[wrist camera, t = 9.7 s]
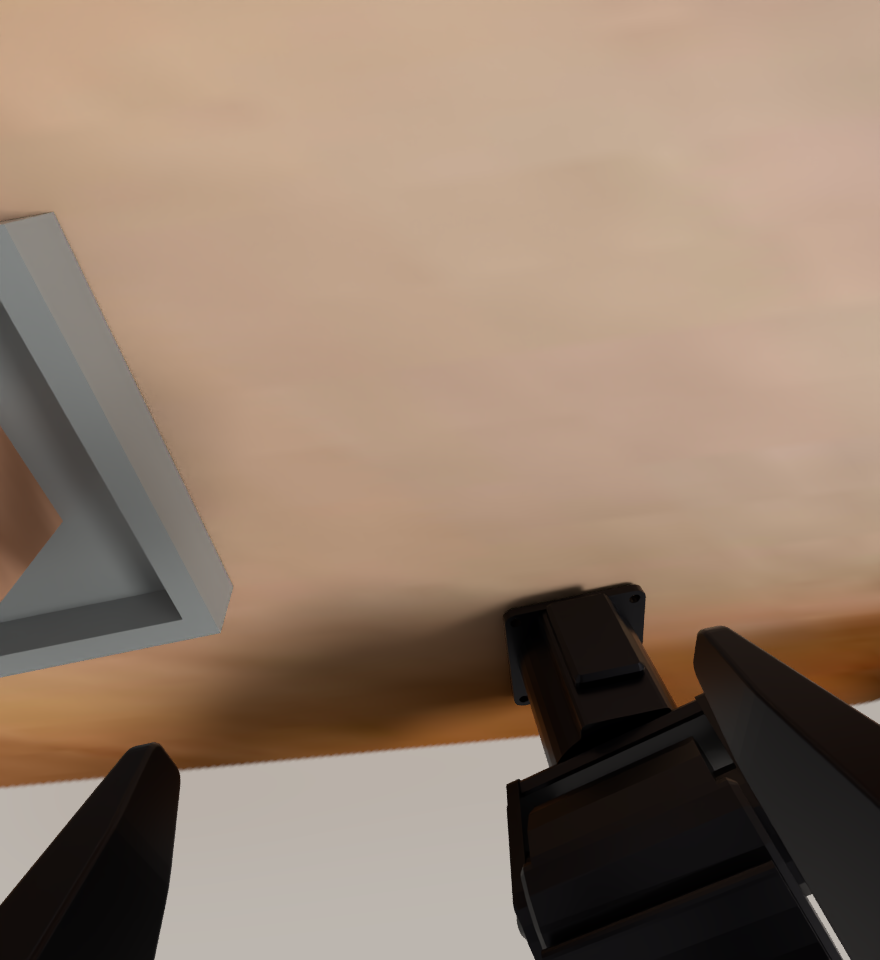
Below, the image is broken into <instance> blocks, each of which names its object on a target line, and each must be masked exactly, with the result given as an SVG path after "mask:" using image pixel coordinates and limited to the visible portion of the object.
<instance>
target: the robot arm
mask: <svg viewBox="0 0 880 960" xmlns="http://www.w3.org/2000/svg"><path fill="white" fill-rule="evenodd" d="M633 595H634V596H633ZM631 596H632V597H631ZM645 598H646V596H645V593H644V591H643V590H642V588H641V587H640V586H639V585H628V586H623V587H618V588H613V589H608V590H603V591H598V592H593V593H589V594H584V595H579V596H574V597H569V598H564V599H559V600H554V601H549V602H544V603H539V604H535V605H530V606H525V607H520V608H515V609H511V610H509V611H507V612H506V613H505V614H504V616H503V623H504V631H505V639H506V646H507V654H508V662H509V670H510V678H511V685H512V693H513V697H514V701H515V703H516V704H517V705H528V704H530V705H531V709H532V712H533V715H534V718H535V722H536V725H537V728H538V732H539V735H540V738H541V741H542V745H543V748H544V751H545V754H546V758H547V761H548V764H549V768H547V769H545V770H543V771H541V772H538V773H536V774H534V775H532V776H530V777H528V778H526V779H523V780H520V779H517V780H515V781H513V782H511V783H509V784H507V786H506V788H507V803H508V806H507V819H508V834H509V847H510V848H509V849H510V865H511V879H512V893H513V894H512V895H513V906H514V910H515V913H516V915H517V924H518V928H519V931H520V933H521V935H522V936H523V937H524V938H525V939H526V940H527V942H528V945H529V947H530V949H531V951H532V954H533V956H534V958H535V960H843V958H842V957H841V955H840V953H839V951H838V950H837V948H836V946H835V944H834V942H833V941H832V939H831V937H830V935H829V934H828V932H827V930H826V928H825V927H824V925H823V923H822V922H821V920H820V918H819V917H818V915H817V913H816V912H815V910H814V908H813V907H812V905H811V903H810V902H809V900H808V898H807V896H808V895H811V894H813V896H814V897H815V899H816V901H817V902H818V904H819V906H820V908H821V909H822V911H823V913H824V915H825V916H826V918H827V920H828V921H829V923H830V925H831V927H832V928H833V930H834V932H835V933H836V935H837V937H838V939H839V940H840V942H841V944H842V945H843V947H844V949H845V951H846V952H847V954H848V956H849V957H850V959H851V960H880V724H878V723H876V722H875V721H873V720H871V719H870V718H869V717H867V716H866V715H864V714H862V713H861V712H859V711H858V710H856V709H855V708H853V707H851V706H850V705H848V704H847V703H845V702H844V701H842V700H841V699H839V698H837V697H836V696H834V695H833V694H831V693H830V692H828V691H826V690H825V689H823V688H822V687H820V686H819V685H817V684H816V683H814V682H812V681H811V680H809V679H808V678H806V677H805V676H803V675H801V674H800V673H798V672H797V671H795V670H794V669H792V668H791V667H789V666H787V665H786V664H784V663H783V662H781V661H780V660H778V659H776V658H775V657H773V656H772V655H770V654H769V653H767V652H766V651H764V650H762V649H761V648H759V647H758V646H756V645H755V644H753V643H751V642H750V641H748V640H747V639H745V638H744V637H742V636H741V635H739V634H737V633H736V632H734V631H733V630H731V629H730V628H728V627H725V626H715V627H710V628H705V629H702V630H700V631H699V632H698V634H697V640H696V646H695V653H694V661H693V664H694V670H695V673H696V676H697V678H698V680H699V683H700V685H701V687H702V689H703V691H704V693H702V694H700V695H698V696H696V697H695V699H696V700H693V701H691V702H689V703H687V704H685V705H683V706H681V707H678V708H677V706H676V704H675V702H674V700H673V699H672V697H671V695H670V693H669V692H668V690H667V688H666V686H665V684H664V683H663V681H662V679H661V677H660V675H659V674H658V672H657V670H656V668H655V667H654V665H653V663H652V661H651V659H650V658H649V656H648V654H647V652H646V650H645V649H644V647H643V645H642V643H643V628H644V613H645ZM515 619H517V620H515ZM512 620H515V621H512ZM179 791H180V773H179V770H178V768H177V766H176V765H175V764H174V762H173V761H172V760H171V758H170V757H169V755H168V754H167V753H166V751H165V750H164V749H163V747H162V746H161V745H160V744H158V743H156V742H153V743H148V744H143V745H138V746H135V747H132V748H130V749H129V750H128V751H127V752H126V753H125V754H124V755H123V756H122V758H121V759H120V760H119V761H118V762H117V764H116V765H115V766H114V767H113V768H112V770H111V771H110V772H109V773H108V775H107V776H106V777H105V778H104V779H103V781H102V782H101V783H100V784H99V786H98V787H97V788H96V789H95V790H94V792H93V793H92V794H91V796H90V797H89V798H88V799H87V800H86V801H85V803H84V804H83V805H82V806H81V807H80V809H79V810H78V811H77V812H76V814H75V815H74V816H73V817H72V818H71V820H70V821H69V822H68V823H67V825H66V826H65V827H64V828H63V829H62V831H61V832H60V833H59V834H58V835H57V837H56V838H55V839H54V841H53V842H52V843H51V844H50V845H49V847H48V848H47V849H46V850H45V851H44V853H43V854H42V855H41V856H40V857H39V859H38V860H37V861H36V862H35V863H34V865H33V866H32V867H31V868H30V870H29V871H28V872H27V873H26V875H25V876H24V877H23V878H22V879H21V881H20V882H19V883H18V884H17V886H16V887H15V888H14V889H13V890H12V892H11V893H10V894H9V895H8V896H7V898H6V899H5V900H4V901H3V902H2V904H1V905H0V960H154V958H155V953H156V949H157V944H158V939H159V934H160V929H161V924H162V919H163V915H164V910H165V905H166V900H167V894H168V889H169V882H170V874H171V867H172V858H173V848H174V839H175V830H176V820H177V811H178V801H179Z"/></svg>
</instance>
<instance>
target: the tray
mask: <svg viewBox="0 0 880 960" xmlns="http://www.w3.org/2000/svg"><path fill="white" fill-rule="evenodd" d="M0 426H1V428H2V429H3V431H4V432H5V434H6V435H7V437H8V438H9V440H10V441H11V443H12V444H13V446H14V447H15V449H16V450H17V452H18V453H19V455H20V456H21V458H22V460H23V461H24V463H25V464H26V466H27V467H28V469H29V470H30V472H31V473H32V475H33V476H34V478H35V479H36V481H37V482H38V484H39V485H40V487H41V488H42V490H43V491H44V493H45V495H46V496H47V498H48V499H49V501H50V502H51V504H52V505H53V507H54V508H55V510H56V511H57V513H58V514H59V516H60V517H61V519H62V520H63V522H62V523H61V525H60V526H59V527H58V528H57V530H56V531H55V532H54V534H53V535H52V536H51V538H50V539H49V540H48V541H47V543H46V544H45V545H44V547H43V548H42V549H41V550H40V552H39V553H38V554H37V556H36V557H35V558H34V560H33V561H32V562H31V563H30V565H29V566H28V567H27V569H26V570H25V571H24V573H23V574H22V575H21V576H20V578H19V579H18V580H17V582H16V583H15V584H14V586H13V587H12V588H11V589H10V591H9V592H8V593H7V595H6V596H5V597H4V599H3V600H2V601H1V602H0V677H5V676H10V675H15V674H20V673H25V672H30V671H35V670H40V669H45V668H50V667H54V666H59V665H64V664H69V663H74V662H79V661H84V660H89V659H94V658H99V657H104V656H109V655H114V654H119V653H124V652H129V651H134V650H139V649H144V648H148V647H153V646H158V645H163V644H168V643H173V642H178V641H183V640H188V639H193V638H198V637H203V636H208V635H213V634H218V633H221V629H222V626H223V622H224V618H225V615H226V611H227V608H228V604H229V601H230V597H231V593H232V590H233V585H232V583H231V581H230V579H229V577H228V574H227V572H226V570H225V568H224V566H223V564H222V562H221V560H220V558H219V556H218V554H217V552H216V549H215V547H214V545H213V543H212V541H211V539H210V537H209V535H208V533H207V531H206V529H205V527H204V524H203V522H202V520H201V518H200V516H199V514H198V512H197V510H196V508H195V506H194V504H193V502H192V499H191V497H190V495H189V493H188V491H187V489H186V487H185V485H184V483H183V481H182V479H181V477H180V474H179V472H178V470H177V468H176V466H175V464H174V462H173V460H172V458H171V456H170V454H169V452H168V449H167V447H166V445H165V443H164V441H163V439H162V437H161V435H160V433H159V431H158V429H157V427H156V424H155V422H154V420H153V418H152V416H151V414H150V412H149V410H148V408H147V406H146V404H145V402H144V399H143V397H142V395H141V393H140V391H139V389H138V387H137V385H136V383H135V381H134V379H133V377H132V374H131V372H130V370H129V368H128V366H127V364H126V362H125V360H124V358H123V356H122V354H121V352H120V349H119V347H118V345H117V343H116V341H115V339H114V337H113V335H112V333H111V331H110V329H109V327H108V324H107V322H106V320H105V318H104V316H103V314H102V312H101V310H100V308H99V306H98V304H97V302H96V299H95V297H94V295H93V293H92V291H91V289H90V287H89V285H88V283H87V281H86V279H85V277H84V274H83V272H82V270H81V268H80V266H79V264H78V262H77V260H76V258H75V256H74V254H73V252H72V249H71V247H70V245H69V243H68V241H67V239H66V237H65V235H64V233H63V231H62V229H61V227H60V224H59V222H58V220H57V218H56V216H55V214H54V212H51V213H45V214H40V215H34V216H29V217H23V218H18V219H12V220H7V221H1V222H0Z"/></svg>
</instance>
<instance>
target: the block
mask: <svg viewBox="0 0 880 960" xmlns="http://www.w3.org/2000/svg"><path fill="white" fill-rule="evenodd" d="M62 522H63V520H62V519H61V517H60V516H59V514H58V513H57V511H56V510H55V508H54V507H53V505H52V504H51V502H50V501H49V499H48V498H47V496H46V495H45V493H44V491H43V490H42V488H41V487H40V485H39V484H38V482H37V481H36V479H35V478H34V476H33V475H32V473H31V472H30V470H29V469H28V467H27V466H26V464H25V463H24V461H23V460H22V458H21V456H20V455H19V453H18V452H17V450H16V449H15V447H14V446H13V444H12V443H11V441H10V440H9V438H8V437H7V435H6V434H5V432H4V431H3V429H2V428H1V426H0V602H1V601H2V600H3V599H4V597H5V596H6V595H7V593H8V592H9V591H10V589H11V588H12V587H13V586H14V584H15V583H16V582H17V580H18V579H19V578H20V576H21V575H22V574H23V573H24V571H25V570H26V569H27V567H28V566H29V565H30V563H31V562H32V561H33V560H34V558H35V557H36V556H37V554H38V553H39V552H40V550H41V549H42V548H43V547H44V545H45V544H46V543H47V541H48V540H49V539H50V538H51V536H52V535H53V534H54V532H55V531H56V530H57V528H58V527H59V526H60V525H61V523H62Z"/></svg>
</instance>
